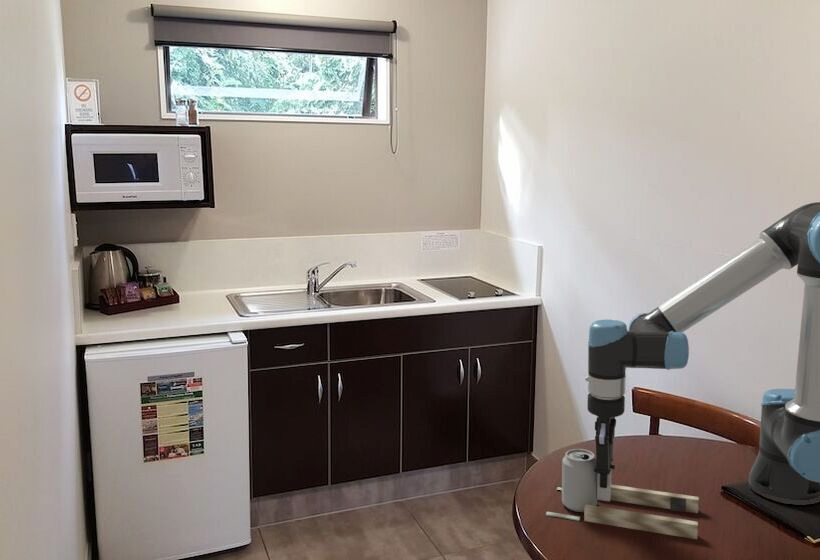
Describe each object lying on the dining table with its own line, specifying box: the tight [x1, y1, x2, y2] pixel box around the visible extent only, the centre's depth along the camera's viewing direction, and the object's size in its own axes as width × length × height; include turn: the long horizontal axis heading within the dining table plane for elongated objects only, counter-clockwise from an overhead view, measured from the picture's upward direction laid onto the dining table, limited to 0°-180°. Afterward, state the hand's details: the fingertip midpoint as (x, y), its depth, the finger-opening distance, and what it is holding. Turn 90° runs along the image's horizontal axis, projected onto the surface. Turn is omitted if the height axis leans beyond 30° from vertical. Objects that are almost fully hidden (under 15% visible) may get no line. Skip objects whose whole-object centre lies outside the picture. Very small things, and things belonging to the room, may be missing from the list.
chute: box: [545, 483, 700, 540], centre depth 155 cm, size 30×13×3 cm, turn 68°
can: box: [561, 448, 598, 513], centre depth 158 cm, size 8×8×12 cm
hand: (603, 498), depth 156 cm, fingers closed
